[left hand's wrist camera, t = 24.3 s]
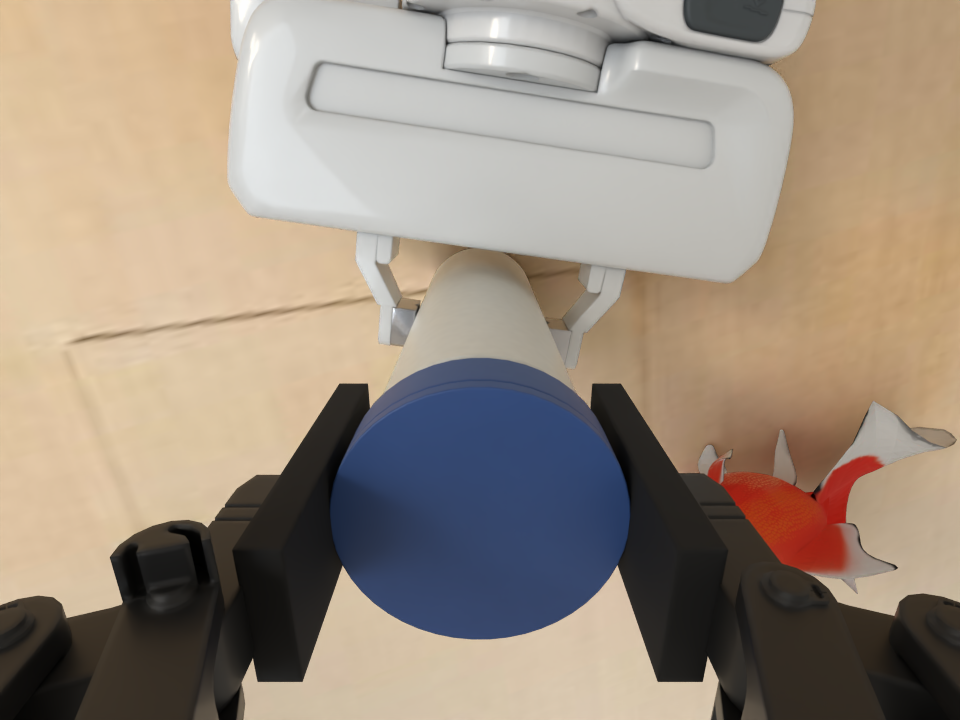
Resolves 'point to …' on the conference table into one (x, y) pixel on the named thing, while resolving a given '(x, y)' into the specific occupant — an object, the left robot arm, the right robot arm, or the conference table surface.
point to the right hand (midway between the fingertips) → (478, 353)
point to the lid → (480, 501)
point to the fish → (822, 497)
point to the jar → (479, 318)
